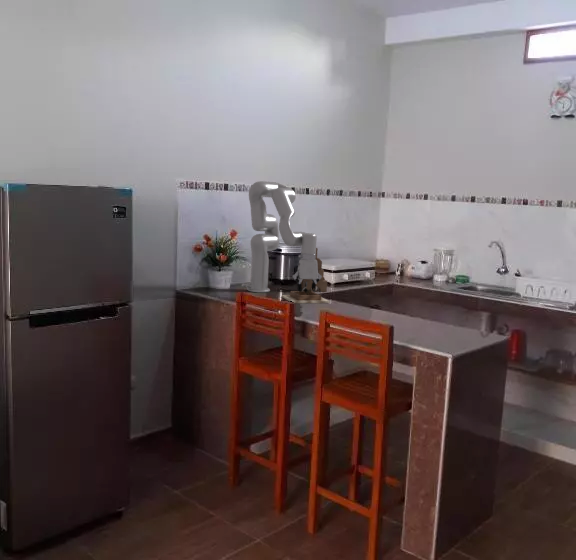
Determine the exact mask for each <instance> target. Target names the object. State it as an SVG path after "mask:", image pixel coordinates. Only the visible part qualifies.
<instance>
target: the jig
mask: <svg viewBox="0 0 576 560" xmlns="http://www.w3.org/2000/svg"><path fill="white" fill-rule="evenodd" d="M281 298H283V299H285V300H286V301H288V302H290V301H292V302H294V303H293V304H330V300H328V299H326V298H324V297H322V295H321V294H319V293H317V292H316V291H315V292H314V291H311V292H310V293H309V294H308V295H307V294H306V293H305V292H304V291H301V292H299V291H298V290H291V291H289V294H281ZM292 302H291V303H292Z"/></svg>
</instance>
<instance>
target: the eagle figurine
mask: <svg viewBox="0 0 576 560" xmlns="http://www.w3.org/2000/svg"><path fill="white" fill-rule="evenodd" d="M314 289H315V288H314ZM314 289H312V288H310V289H309V290H308V289H307V281H306V283H305V288H304V289H302V290H301V291H304V292H305V293H306V294H307V295H308V294H309V293H310V292H311V291H313V290H314ZM299 292H300V291H299ZM313 292H314V291H313Z"/></svg>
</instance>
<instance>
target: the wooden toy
mask: <svg viewBox="0 0 576 560" xmlns="http://www.w3.org/2000/svg"><path fill="white" fill-rule="evenodd" d="M318 252H319V251H318V247H316V258H315V260H317V264H318V273H319V274H320V275H321V276H322V278H321V279H320V280H319V281H318V282H317V284H316V290H317V291H318V290H319V291H318V292H320V291H321V292H320V293H327V292H328V291H327V290H328V281H327V280H326V279H325V276H324V273H325V270H324V269H322V268H323V261H322V260H321V258H319V257H318ZM306 281H307V289H308V290H309V289H310V288H311V289H312V283H313V281H312V279H303V280H302V282H301V284H302V289H304V288H305V283H306Z"/></svg>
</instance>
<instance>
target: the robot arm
mask: <svg viewBox="0 0 576 560" xmlns="http://www.w3.org/2000/svg"><path fill="white" fill-rule="evenodd" d="M264 198H270V199H272V202H273V204H274V207H275V209H276V211H277V214H278V216H279V222H278V218H277V217H276V216H275V215H274V214H271V213H267V206H266V205H267V204H266V203H265V200H264ZM248 201H249V204H250V217H251V227H252V229H253V230H254V231H255V232H264V233H257V234H254V235H253V236H252V237H251V239H250V249H251V250H250V251H251V264H250V265H251V266H250V281H248V282H247V283H241V287H242V288H246V289H247V291H248V292H252V293H269V292H270V291H271V289H270V288H269V287H268V279H269V262H270V261H269V255H268V252H271V251H276V250H277V249H278V248H279V246H280V245H279V244H280V236H281V240H282V241H283V242H284V244H285V246H287V247H301V251H300V252H301V253H300V254H298V258H300V259H299V262H298V266H297V271H296V272H295V273H294V274H293V275H292V278H293V280H294V281H295V282H296V284H297V288H296V289H297V291H300V292H301V290H302V284H301V282H302V280H303V279H312V281H313V283H312V288H311V290H312V289H314V288H315V289H314V290H313V292H315V293H316V290H317V287H316V284H317V282H318V281H319V280H320V279H321V278H322V276H321V275H320V274H319V273H318V264H317V260H315V258H316V248H317V238H318V237H317V234H316V233H313V232H312V233H310V232H304V231H293V230H292V227H291V225H290V219H292V218H293V217H294V216H295V214H296V211H295V209H294V207H293V203H294V202H295V201H296V192H295V191H294V190H293V189H292V188H290V187H289V186H285V185H283V184H281V183H279V182H273V181H265V180H263V181H255V182H254V183H253V184H251V185H250V187H249V190H248Z"/></svg>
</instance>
